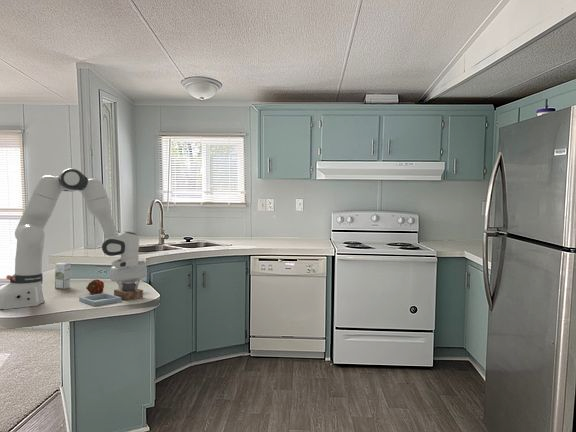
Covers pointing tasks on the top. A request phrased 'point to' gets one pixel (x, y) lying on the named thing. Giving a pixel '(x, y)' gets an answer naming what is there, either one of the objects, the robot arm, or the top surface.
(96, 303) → the tray
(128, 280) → the electrical switch
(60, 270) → the syrup box
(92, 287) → the brown rounded piece
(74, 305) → the top surface
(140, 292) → the holder
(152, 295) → the top surface
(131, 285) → the plug
